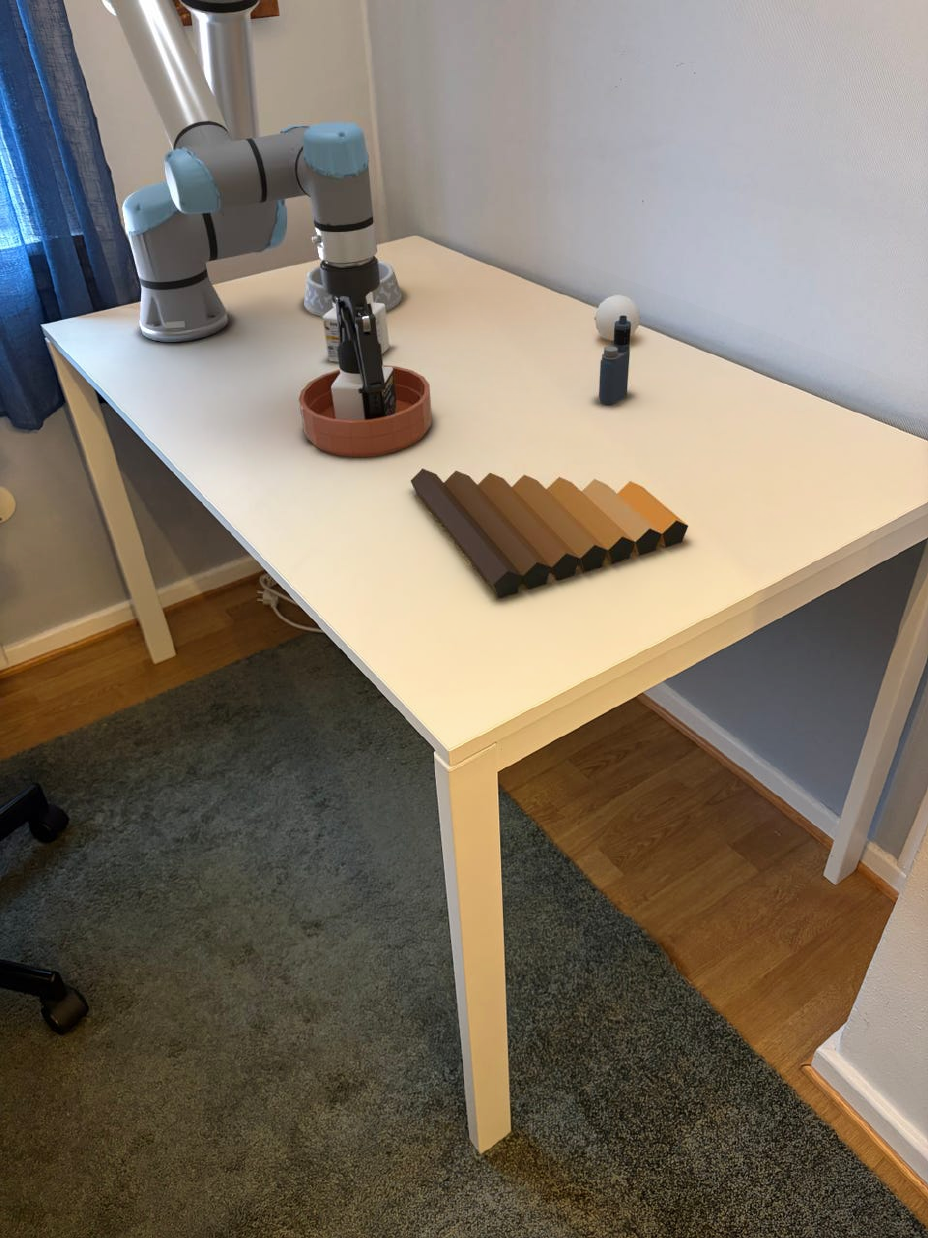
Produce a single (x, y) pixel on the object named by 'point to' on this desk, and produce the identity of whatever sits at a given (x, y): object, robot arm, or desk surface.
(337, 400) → the medicine bottle
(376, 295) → the dog bowl
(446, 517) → the pan flute
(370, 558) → the desk surface
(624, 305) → the white egg
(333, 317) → the container
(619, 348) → the vaping device
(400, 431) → the bowl
